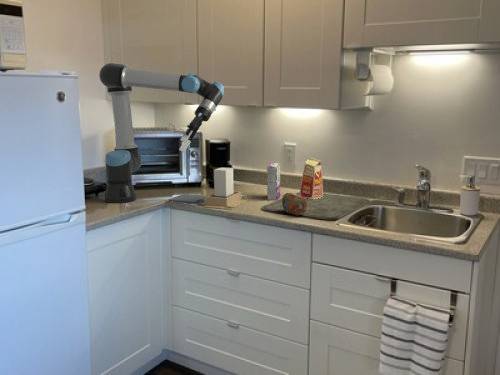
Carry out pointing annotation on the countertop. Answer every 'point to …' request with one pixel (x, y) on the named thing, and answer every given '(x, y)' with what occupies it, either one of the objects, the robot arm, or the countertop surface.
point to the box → (223, 182)
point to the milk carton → (312, 180)
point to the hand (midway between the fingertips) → (182, 146)
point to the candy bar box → (273, 181)
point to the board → (188, 198)
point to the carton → (223, 201)
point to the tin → (294, 203)
